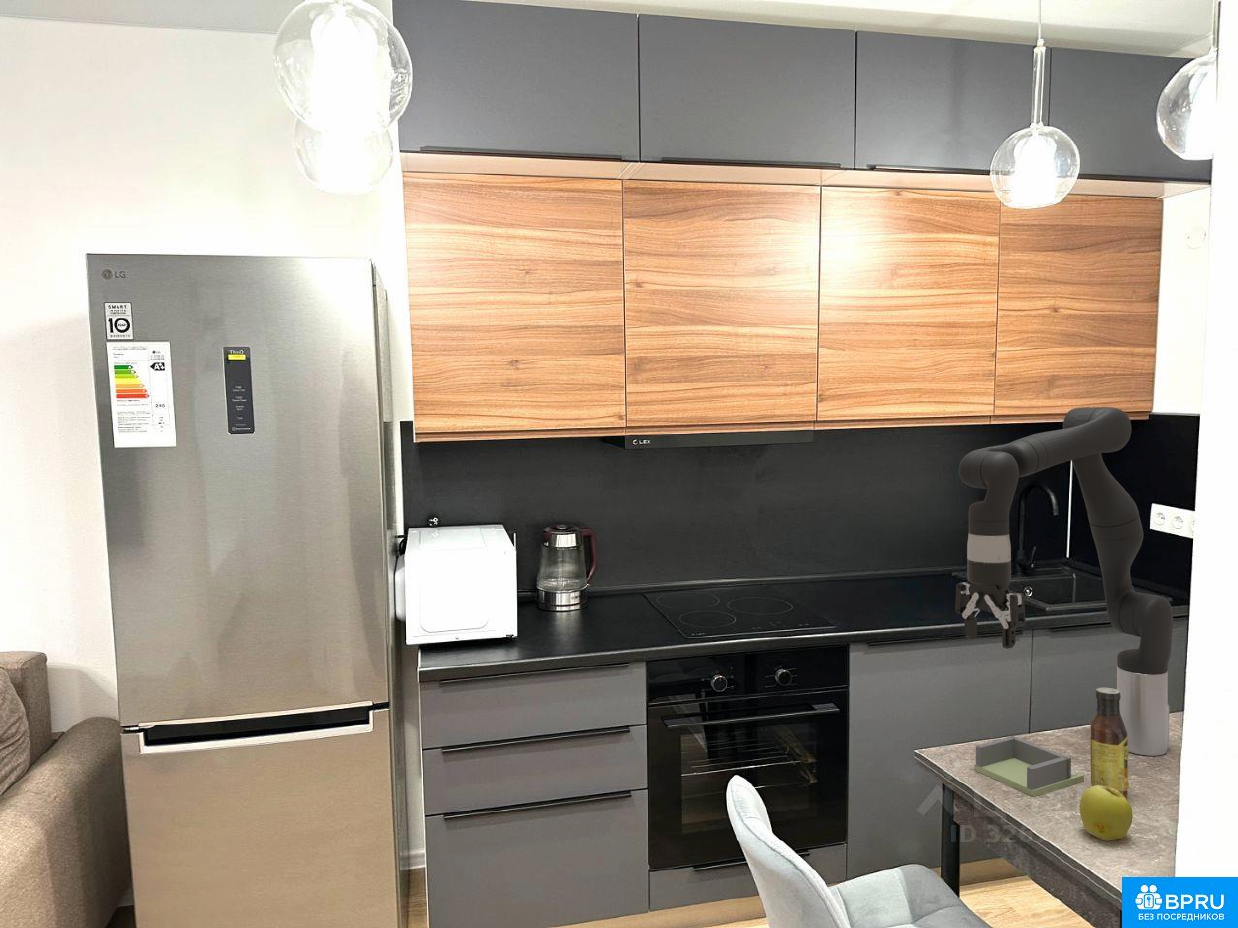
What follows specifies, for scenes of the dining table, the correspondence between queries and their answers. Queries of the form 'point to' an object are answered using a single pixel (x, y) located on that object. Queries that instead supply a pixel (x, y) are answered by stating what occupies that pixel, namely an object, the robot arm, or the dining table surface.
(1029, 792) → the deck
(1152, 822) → the dining table surface
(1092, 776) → the sauce bottle
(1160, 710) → the robot arm
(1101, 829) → the apple
